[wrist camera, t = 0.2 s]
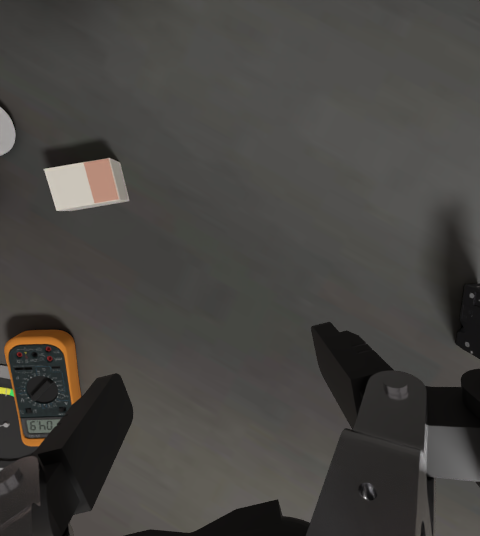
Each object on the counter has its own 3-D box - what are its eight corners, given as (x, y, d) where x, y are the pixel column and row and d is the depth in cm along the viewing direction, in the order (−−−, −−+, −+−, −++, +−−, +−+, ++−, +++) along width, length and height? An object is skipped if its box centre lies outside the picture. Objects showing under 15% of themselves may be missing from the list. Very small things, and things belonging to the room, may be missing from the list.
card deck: (61, 172, 36) (42, 168, 33) (120, 162, 36) (108, 157, 33) (72, 210, 37) (55, 210, 34) (130, 201, 37) (119, 199, 34)
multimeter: (76, 326, 41) (62, 336, 37) (90, 429, 44) (79, 447, 41) (17, 327, 40) (-2, 338, 37) (36, 431, 44) (20, 449, 41)
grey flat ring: (-15, 338, 41) (-21, 341, 40) (96, 413, 44) (93, 418, 43) (-85, 425, 43) (-92, 430, 42) (24, 490, 46) (20, 496, 45)
